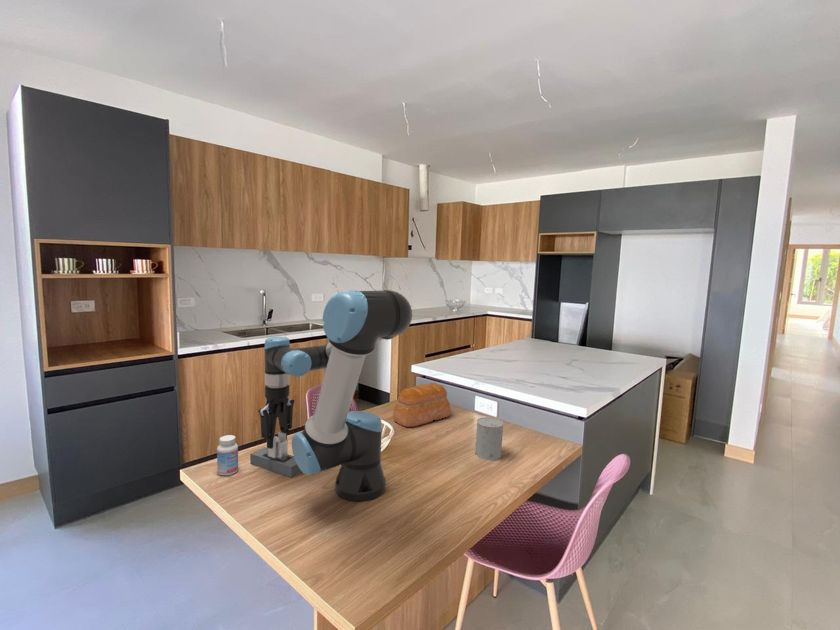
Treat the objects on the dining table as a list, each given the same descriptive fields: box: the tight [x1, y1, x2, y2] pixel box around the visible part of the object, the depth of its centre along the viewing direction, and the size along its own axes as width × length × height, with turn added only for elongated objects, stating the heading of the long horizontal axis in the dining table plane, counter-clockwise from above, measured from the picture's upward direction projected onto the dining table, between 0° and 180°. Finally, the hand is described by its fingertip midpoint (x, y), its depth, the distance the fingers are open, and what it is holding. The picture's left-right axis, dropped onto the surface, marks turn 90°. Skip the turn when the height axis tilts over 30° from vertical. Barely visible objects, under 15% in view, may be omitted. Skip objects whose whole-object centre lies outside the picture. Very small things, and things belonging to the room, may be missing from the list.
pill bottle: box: [216, 434, 239, 476], centre depth 134 cm, size 6×6×11 cm
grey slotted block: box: [249, 446, 303, 478], centre depth 139 cm, size 18×6×4 cm, turn 63°
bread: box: [392, 382, 452, 428], centre depth 187 cm, size 14×26×15 cm, turn 130°
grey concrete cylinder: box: [474, 416, 504, 461], centre depth 154 cm, size 10×10×12 cm
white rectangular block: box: [266, 435, 289, 463], centre depth 139 cm, size 7×3×9 cm, turn 63°
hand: (277, 454), depth 139 cm, fingers open, 4 cm apart
